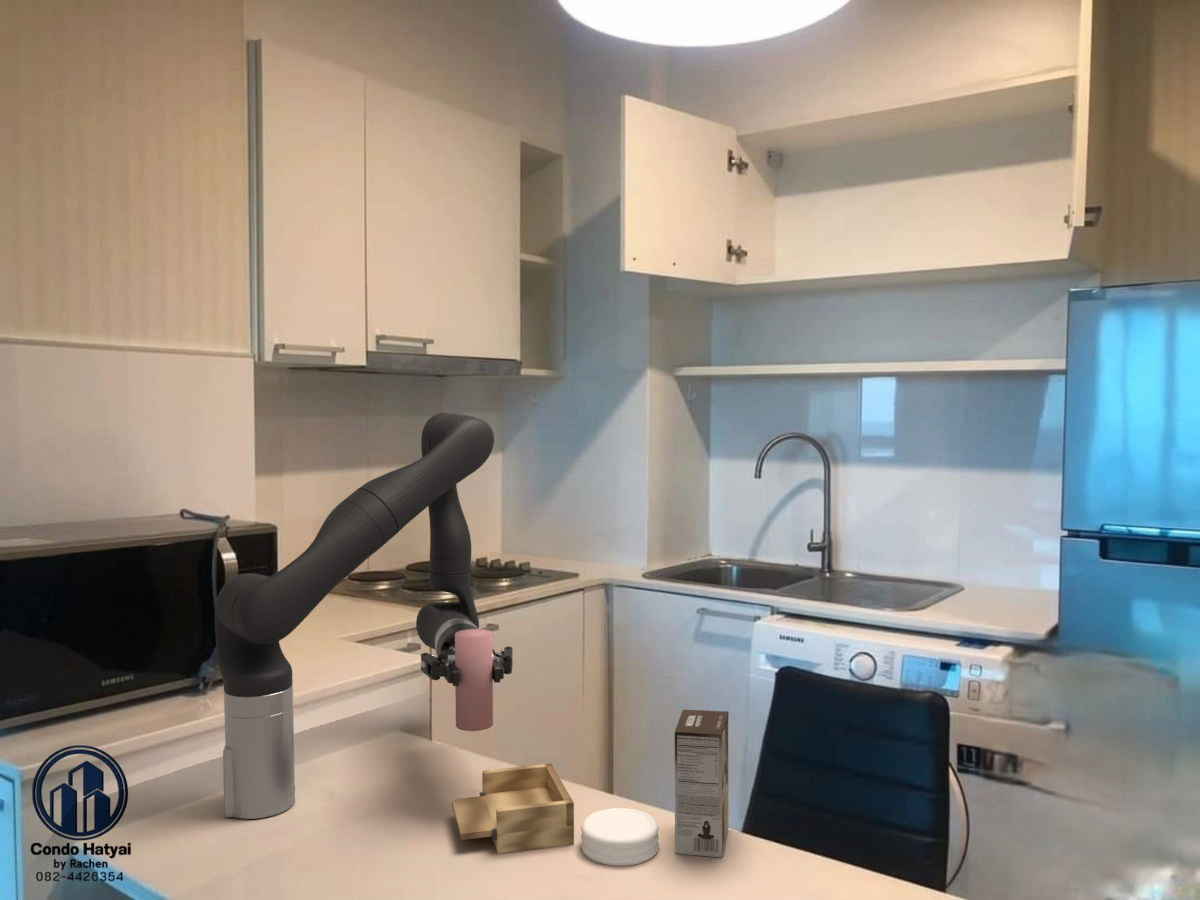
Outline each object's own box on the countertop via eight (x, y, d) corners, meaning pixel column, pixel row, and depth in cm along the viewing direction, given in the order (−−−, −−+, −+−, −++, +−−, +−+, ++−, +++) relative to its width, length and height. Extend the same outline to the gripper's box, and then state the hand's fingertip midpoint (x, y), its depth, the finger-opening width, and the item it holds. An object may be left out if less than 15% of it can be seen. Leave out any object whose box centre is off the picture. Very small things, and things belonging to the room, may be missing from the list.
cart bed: (462, 858, 119) (461, 815, 119) (450, 812, 132) (450, 774, 132) (574, 844, 123) (573, 802, 122) (551, 800, 136) (551, 763, 136)
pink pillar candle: (458, 732, 129) (457, 639, 129) (453, 720, 134) (452, 630, 134) (495, 729, 131) (495, 636, 130) (489, 717, 136) (489, 628, 135)
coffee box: (682, 823, 129) (682, 707, 128) (729, 827, 127) (729, 710, 127) (673, 854, 120) (673, 730, 119) (724, 859, 118) (724, 733, 118)
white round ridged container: (669, 840, 124) (669, 814, 124) (640, 874, 115) (640, 846, 115) (601, 826, 128) (601, 801, 128) (567, 858, 119) (567, 831, 119)
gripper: (413, 626, 144) (424, 654, 127) (506, 619, 148) (528, 646, 131) (414, 674, 144) (424, 709, 128) (506, 666, 148) (528, 699, 132)
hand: (477, 677), depth 130 cm, fingers closed on pink pillar candle, 5 cm apart
